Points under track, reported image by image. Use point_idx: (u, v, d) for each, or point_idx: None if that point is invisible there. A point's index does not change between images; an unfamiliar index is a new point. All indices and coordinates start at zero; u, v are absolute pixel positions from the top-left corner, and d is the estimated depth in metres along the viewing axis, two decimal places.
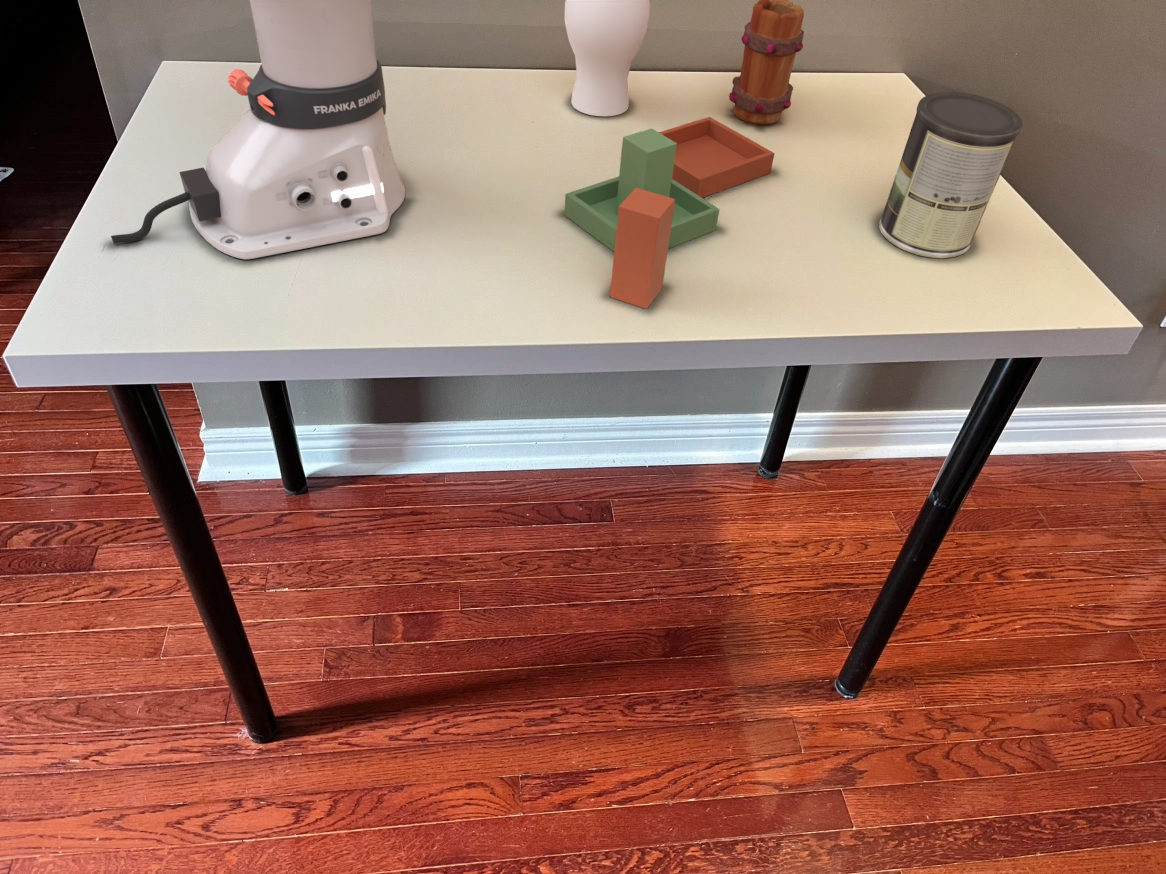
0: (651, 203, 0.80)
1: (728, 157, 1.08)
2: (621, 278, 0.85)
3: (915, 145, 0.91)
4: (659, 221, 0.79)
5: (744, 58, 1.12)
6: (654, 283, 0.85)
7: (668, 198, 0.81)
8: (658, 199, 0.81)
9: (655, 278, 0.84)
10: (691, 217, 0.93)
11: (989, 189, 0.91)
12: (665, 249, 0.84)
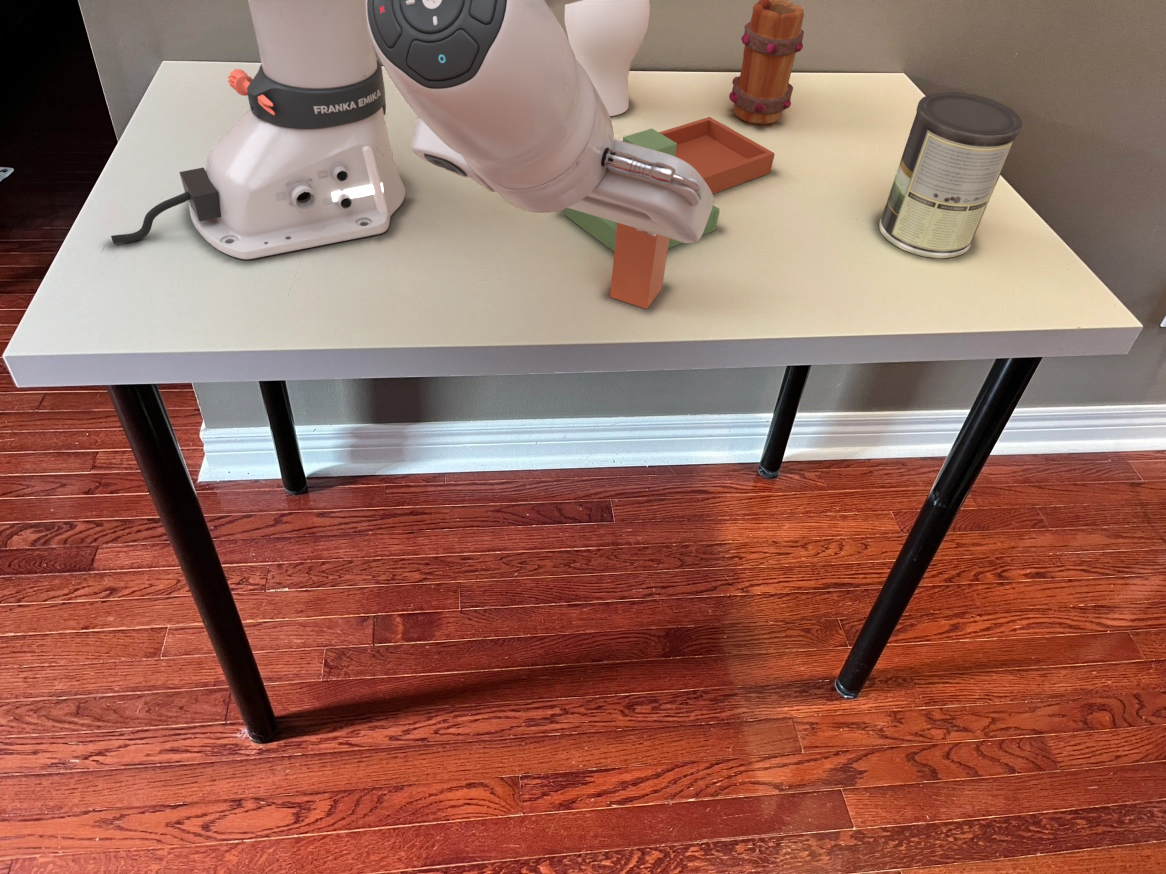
0: None
1: (728, 157, 1.08)
2: (621, 278, 0.85)
3: (915, 145, 0.91)
4: None
5: (744, 58, 1.12)
6: (654, 283, 0.85)
7: None
8: None
9: (655, 278, 0.84)
10: None
11: (989, 189, 0.91)
12: (665, 249, 0.84)
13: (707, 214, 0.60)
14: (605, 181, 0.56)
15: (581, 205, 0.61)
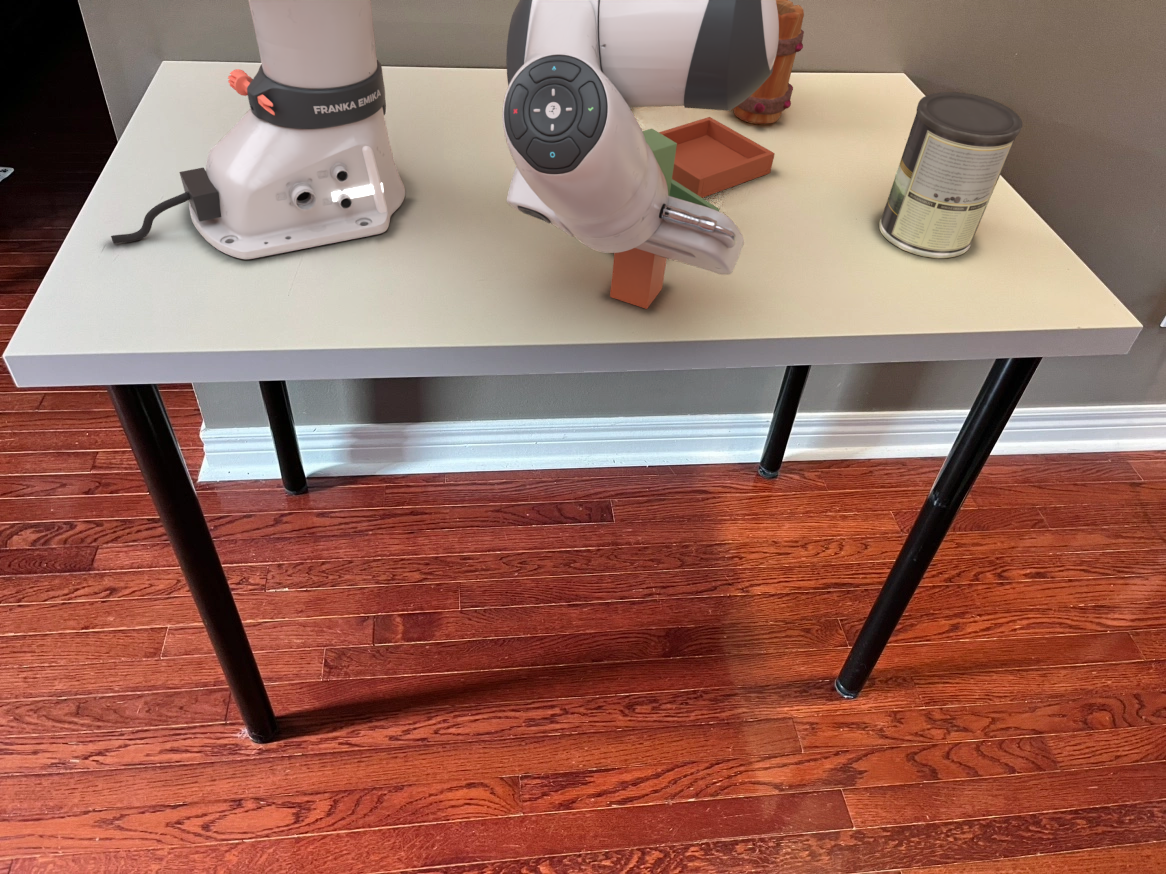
0: None
1: (728, 157, 1.08)
2: (621, 278, 0.85)
3: (915, 145, 0.91)
4: None
5: None
6: (654, 283, 0.85)
7: None
8: None
9: (655, 278, 0.84)
10: None
11: (989, 189, 0.91)
12: None
13: (739, 252, 0.75)
14: (661, 229, 0.71)
15: None
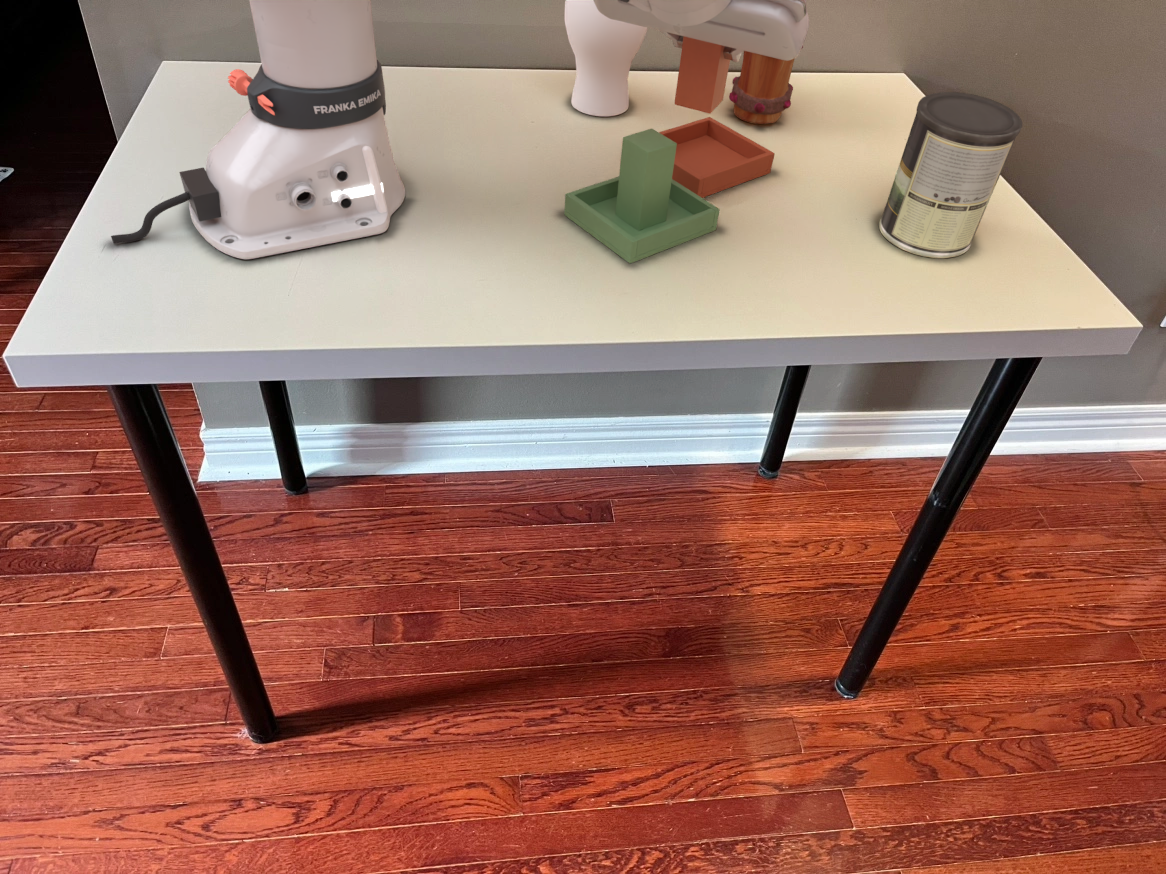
0: None
1: (728, 157, 1.08)
2: (686, 82, 0.89)
3: (915, 145, 0.91)
4: None
5: (744, 58, 1.12)
6: (718, 87, 0.89)
7: None
8: None
9: (719, 82, 0.89)
10: (691, 217, 0.93)
11: (989, 189, 0.91)
12: None
13: (804, 35, 0.80)
14: (734, 1, 0.76)
15: (708, 31, 0.81)
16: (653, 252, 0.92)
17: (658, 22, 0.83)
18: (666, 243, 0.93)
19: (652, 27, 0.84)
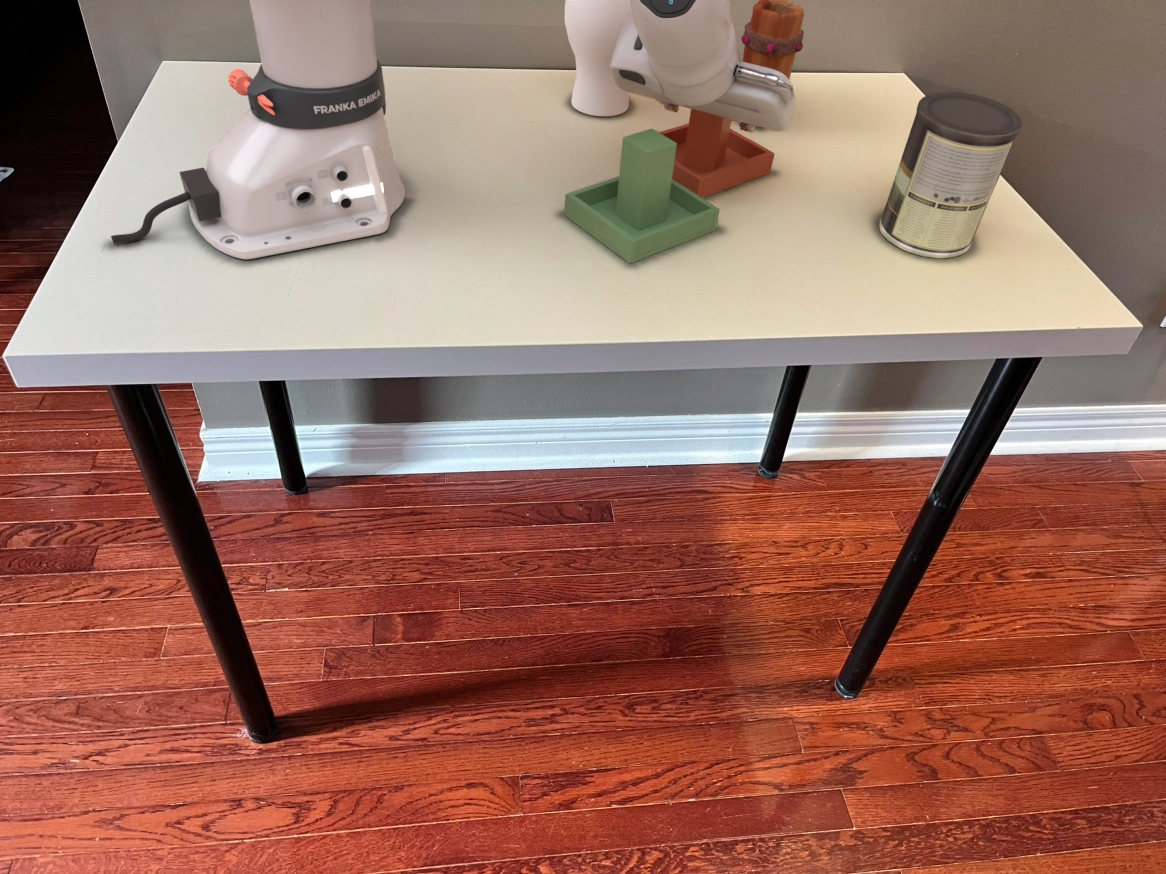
0: None
1: (728, 157, 1.08)
2: (693, 146, 1.04)
3: (915, 145, 0.91)
4: None
5: (744, 58, 1.12)
6: (720, 150, 1.04)
7: None
8: None
9: (721, 146, 1.04)
10: (691, 217, 0.93)
11: (989, 189, 0.91)
12: (729, 122, 1.04)
13: (792, 111, 0.95)
14: (733, 86, 0.91)
15: (710, 107, 0.96)
16: (653, 252, 0.92)
17: (668, 97, 0.98)
18: (666, 243, 0.93)
19: (663, 100, 0.99)
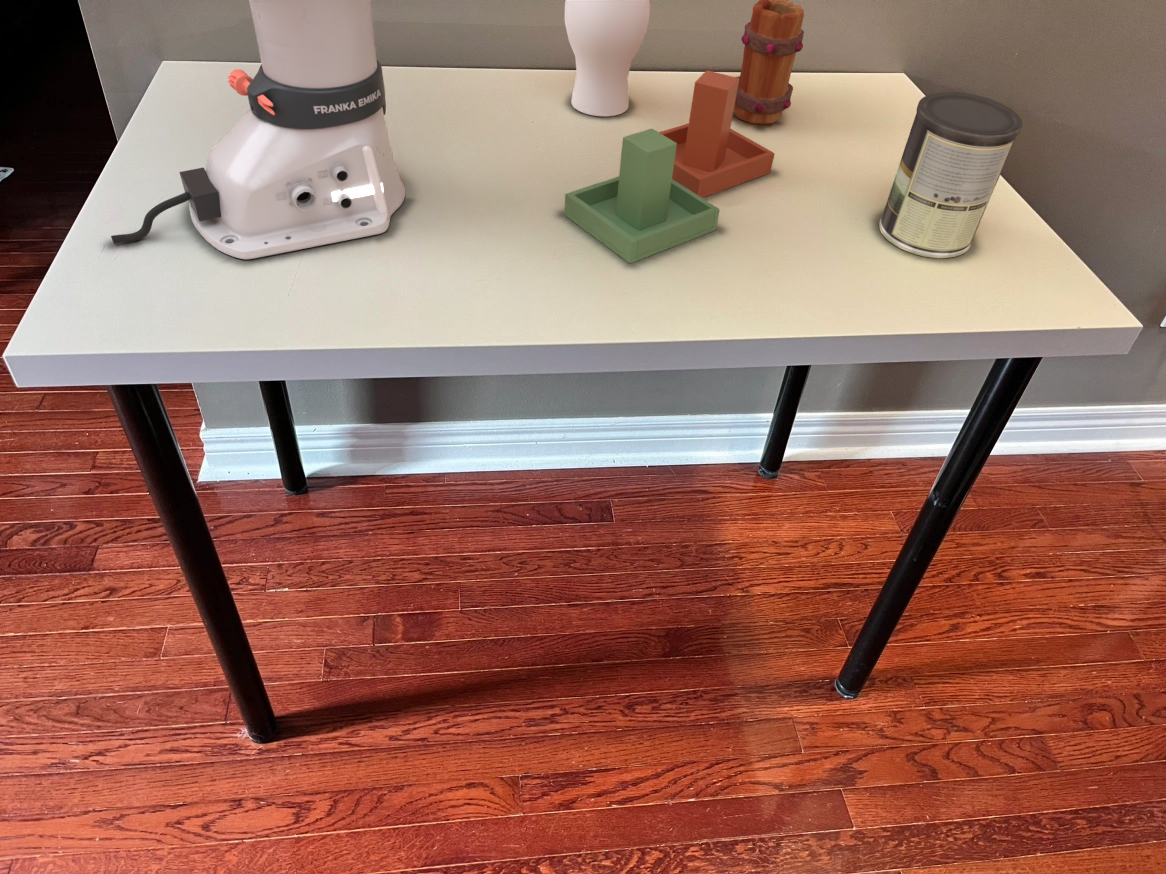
0: (720, 80, 1.00)
1: (728, 157, 1.08)
2: (693, 146, 1.04)
3: (915, 145, 0.91)
4: (728, 92, 0.98)
5: (744, 58, 1.12)
6: (720, 150, 1.04)
7: (733, 77, 1.01)
8: (726, 78, 1.00)
9: (721, 146, 1.04)
10: (691, 217, 0.93)
11: (989, 189, 0.91)
12: (729, 122, 1.04)
13: None
14: None
15: None
16: (653, 252, 0.92)
17: None
18: (666, 243, 0.93)
19: None
